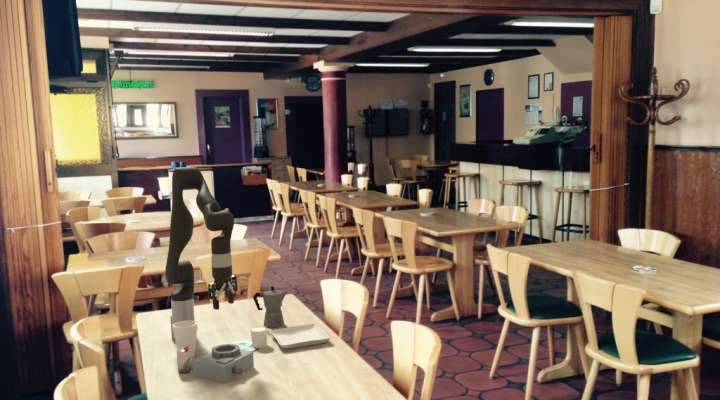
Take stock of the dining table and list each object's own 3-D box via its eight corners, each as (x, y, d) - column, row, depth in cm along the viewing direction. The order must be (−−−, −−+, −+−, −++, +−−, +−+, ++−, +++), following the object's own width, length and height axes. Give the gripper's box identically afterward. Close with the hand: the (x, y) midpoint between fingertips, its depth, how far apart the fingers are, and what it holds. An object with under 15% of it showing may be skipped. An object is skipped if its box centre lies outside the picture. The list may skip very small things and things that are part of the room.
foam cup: (203, 352, 252) (201, 321, 250) (190, 361, 243) (188, 328, 242) (183, 350, 255) (181, 319, 254) (169, 358, 246) (167, 326, 245)
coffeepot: (287, 320, 292) (285, 282, 290) (289, 326, 283) (288, 287, 281) (253, 323, 289) (252, 285, 286) (254, 329, 279) (253, 290, 277)
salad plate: (281, 353, 250) (280, 344, 250) (268, 337, 270) (268, 329, 270) (331, 345, 258) (331, 337, 258) (316, 330, 278) (315, 322, 277)
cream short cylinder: (264, 348, 255) (263, 332, 254) (248, 348, 256) (247, 331, 256) (270, 343, 262) (269, 326, 261) (254, 342, 263) (254, 326, 262)
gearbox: (195, 376, 228) (194, 354, 227) (225, 361, 242) (224, 341, 241) (231, 384, 220) (230, 362, 219) (260, 368, 234) (259, 347, 233)
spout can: (174, 372, 232) (173, 348, 231) (185, 367, 237) (183, 343, 236) (185, 374, 230) (183, 350, 229) (195, 369, 234) (194, 345, 233)
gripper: (226, 259, 245) (228, 300, 247) (201, 267, 232) (203, 310, 234) (241, 261, 242) (243, 302, 243) (217, 269, 229) (219, 312, 231)
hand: (223, 306), depth 239 cm, fingers open, 8 cm apart
